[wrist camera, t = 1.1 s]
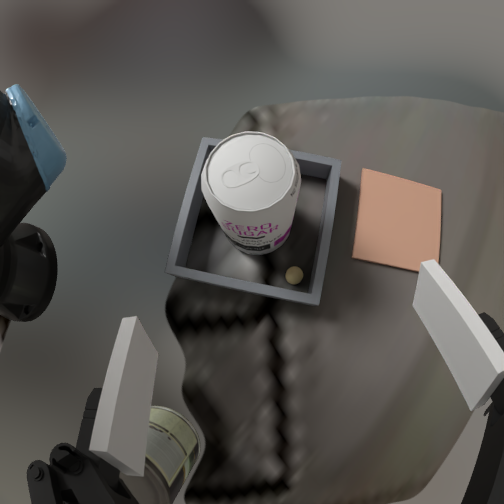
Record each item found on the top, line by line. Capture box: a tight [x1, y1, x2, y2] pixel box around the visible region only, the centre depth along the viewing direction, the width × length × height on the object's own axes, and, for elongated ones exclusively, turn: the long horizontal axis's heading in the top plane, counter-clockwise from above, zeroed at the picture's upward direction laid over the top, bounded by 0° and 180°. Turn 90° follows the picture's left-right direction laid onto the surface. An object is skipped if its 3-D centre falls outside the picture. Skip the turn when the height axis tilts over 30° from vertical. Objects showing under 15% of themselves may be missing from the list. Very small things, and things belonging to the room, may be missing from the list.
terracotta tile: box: [352, 168, 441, 272], centre depth 37 cm, size 12×12×1 cm
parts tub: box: [165, 137, 341, 306], centre depth 36 cm, size 17×17×4 cm
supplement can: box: [201, 131, 301, 255], centre depth 31 cm, size 8×8×15 cm
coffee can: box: [119, 406, 200, 504], centre depth 27 cm, size 10×10×14 cm
